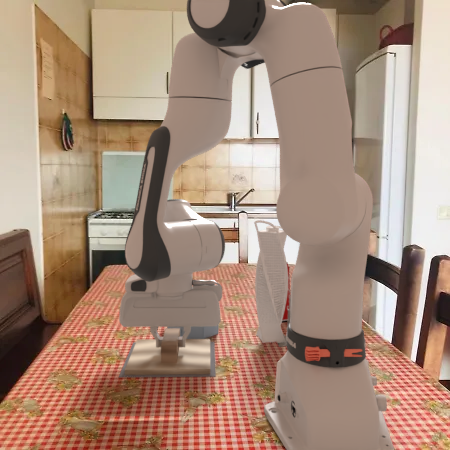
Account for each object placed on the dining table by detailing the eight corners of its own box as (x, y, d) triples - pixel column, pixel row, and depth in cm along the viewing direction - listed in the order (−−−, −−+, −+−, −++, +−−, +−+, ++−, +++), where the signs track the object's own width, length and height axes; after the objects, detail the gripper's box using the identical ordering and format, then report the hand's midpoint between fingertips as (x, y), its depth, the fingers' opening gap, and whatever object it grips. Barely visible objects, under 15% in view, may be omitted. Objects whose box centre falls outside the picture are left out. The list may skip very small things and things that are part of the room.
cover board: (210, 374, 91) (210, 351, 90) (124, 374, 90) (124, 351, 90) (210, 343, 107) (210, 323, 106) (137, 343, 106) (137, 324, 106)
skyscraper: (259, 350, 105) (261, 222, 102) (248, 337, 113) (249, 218, 110) (295, 346, 108) (298, 221, 104) (281, 334, 115) (284, 217, 112)
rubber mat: (215, 378, 90) (215, 376, 90) (118, 379, 89) (118, 377, 89) (214, 344, 108) (214, 341, 108) (133, 344, 107) (133, 342, 107)
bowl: (218, 340, 110) (218, 315, 109) (165, 341, 109) (165, 315, 109) (217, 323, 122) (217, 300, 121) (170, 324, 121) (169, 300, 121)
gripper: (221, 276, 100) (221, 340, 102) (122, 276, 99) (123, 341, 101) (222, 283, 94) (222, 352, 95) (116, 283, 93) (118, 352, 95)
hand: (170, 346), depth 98 cm, fingers closed on cover board, 3 cm apart
